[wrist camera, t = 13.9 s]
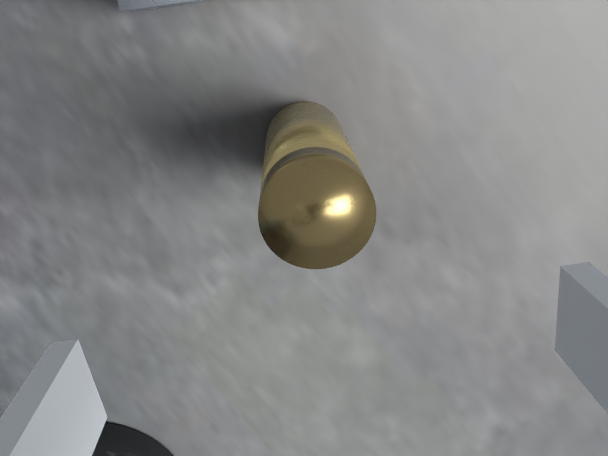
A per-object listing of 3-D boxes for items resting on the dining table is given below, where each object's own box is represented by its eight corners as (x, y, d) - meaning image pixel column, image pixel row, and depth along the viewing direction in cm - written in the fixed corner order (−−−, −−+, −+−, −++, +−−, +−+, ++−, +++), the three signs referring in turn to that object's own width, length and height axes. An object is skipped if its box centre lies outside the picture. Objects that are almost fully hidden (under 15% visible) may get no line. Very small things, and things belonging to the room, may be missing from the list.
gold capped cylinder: (272, 181, 35) (268, 276, 23) (260, 107, 33) (248, 169, 21) (346, 171, 35) (380, 260, 23) (338, 96, 33) (371, 151, 21)
